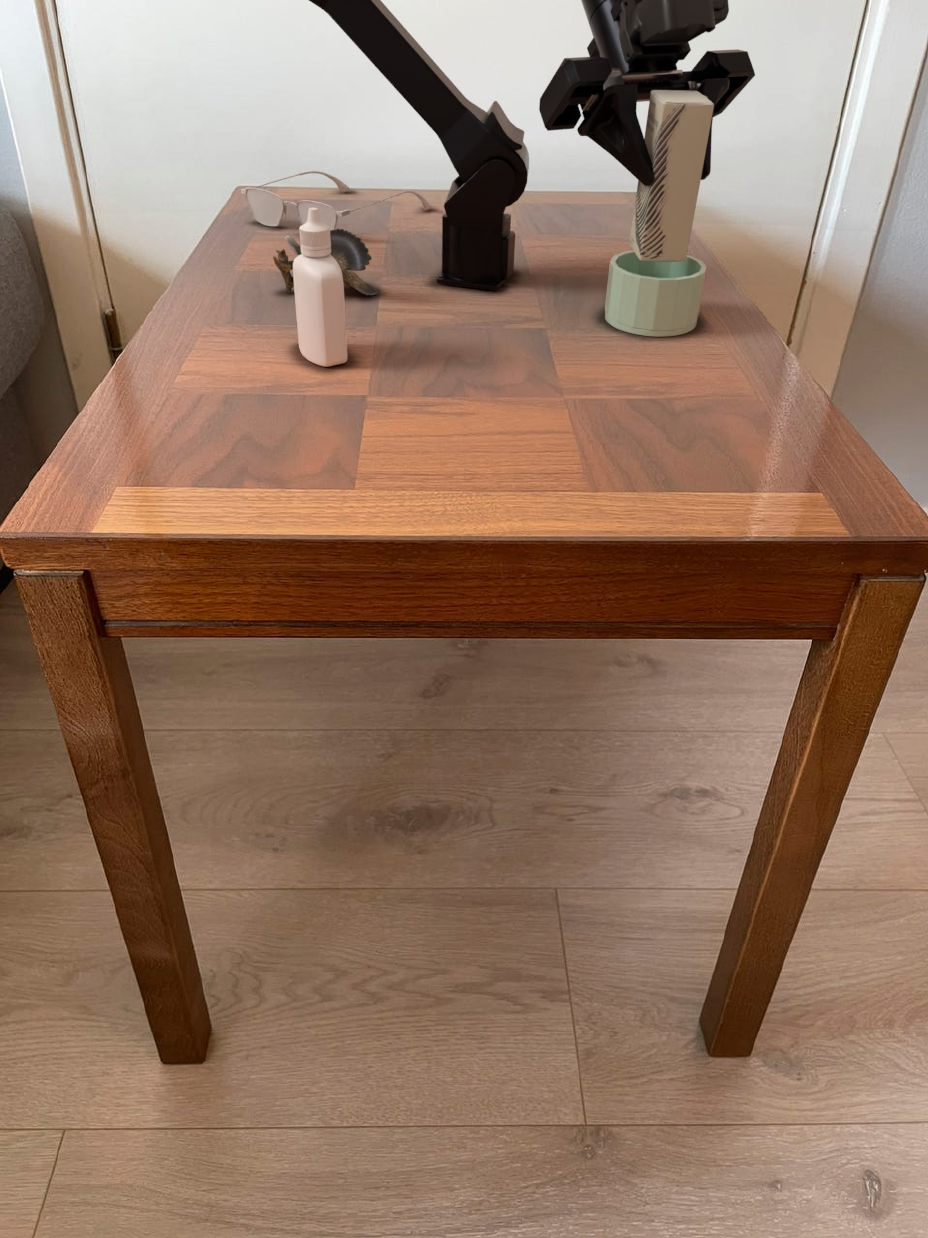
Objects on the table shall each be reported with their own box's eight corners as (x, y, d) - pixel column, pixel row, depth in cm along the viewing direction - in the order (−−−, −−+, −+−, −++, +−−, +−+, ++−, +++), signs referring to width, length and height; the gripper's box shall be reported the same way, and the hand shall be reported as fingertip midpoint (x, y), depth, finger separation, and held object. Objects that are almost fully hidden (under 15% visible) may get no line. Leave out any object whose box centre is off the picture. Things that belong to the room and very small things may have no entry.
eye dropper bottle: (350, 343, 86) (343, 199, 79) (347, 368, 81) (339, 219, 74) (300, 342, 86) (288, 198, 78) (294, 368, 81) (281, 218, 74)
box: (627, 245, 90) (647, 87, 82) (674, 245, 90) (698, 88, 82) (640, 263, 86) (662, 100, 78) (689, 263, 86) (716, 100, 78)
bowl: (596, 329, 90) (602, 272, 87) (614, 299, 96) (620, 244, 93) (689, 342, 88) (699, 284, 85) (702, 310, 94) (711, 255, 91)
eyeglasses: (242, 220, 115) (238, 184, 113) (342, 189, 127) (340, 156, 125) (342, 245, 108) (340, 207, 106) (437, 210, 120) (437, 175, 118)
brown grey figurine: (281, 301, 91) (376, 281, 90) (264, 223, 90) (359, 203, 90) (294, 319, 98) (382, 300, 98) (278, 247, 98) (366, 229, 97)
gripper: (569, -65, 73) (633, 127, 72) (764, -64, 80) (825, 111, 79) (513, 42, 83) (568, 211, 82) (690, 34, 90) (743, 190, 89)
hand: (678, 179), depth 83 cm, fingers closed on box, 5 cm apart
